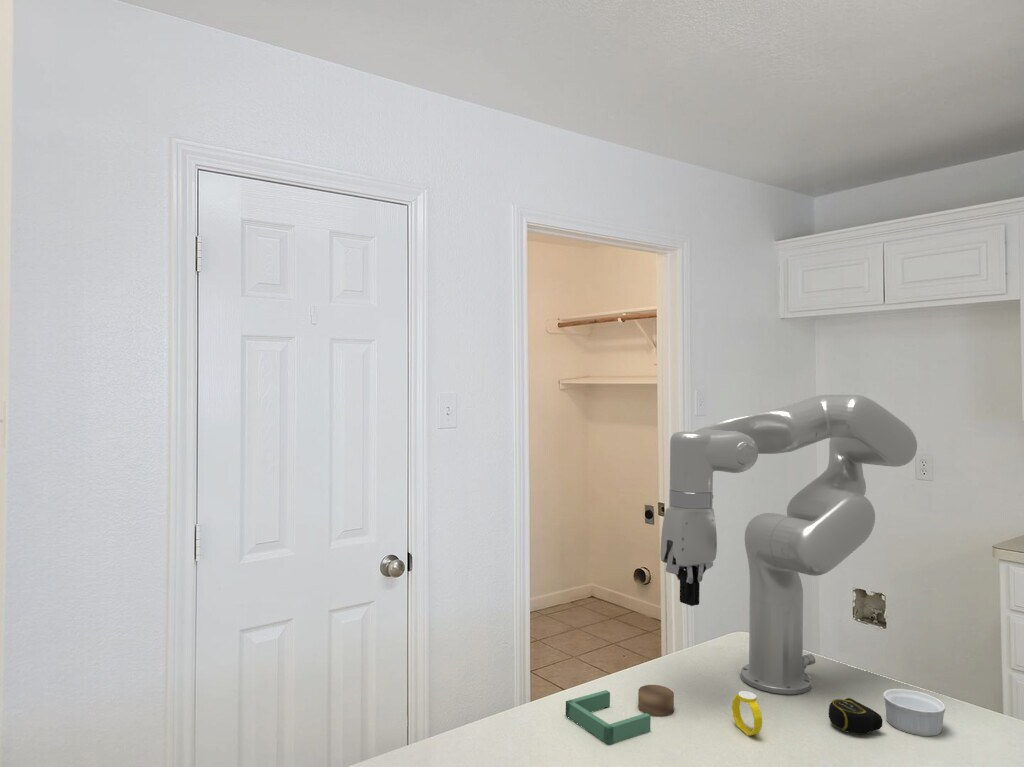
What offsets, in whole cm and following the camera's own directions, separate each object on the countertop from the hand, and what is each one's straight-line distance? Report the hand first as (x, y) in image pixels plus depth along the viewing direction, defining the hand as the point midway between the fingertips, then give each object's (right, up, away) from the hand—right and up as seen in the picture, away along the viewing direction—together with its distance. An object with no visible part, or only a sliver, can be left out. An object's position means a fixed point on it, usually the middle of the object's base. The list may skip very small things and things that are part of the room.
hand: (689, 603), depth 122 cm
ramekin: (+35, -18, -9) cm, 40 cm away
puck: (-7, -17, -5) cm, 19 cm away
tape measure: (+24, -17, -10) cm, 32 cm away
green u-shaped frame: (-16, -16, -10) cm, 25 cm away
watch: (+6, -17, -12) cm, 22 cm away
